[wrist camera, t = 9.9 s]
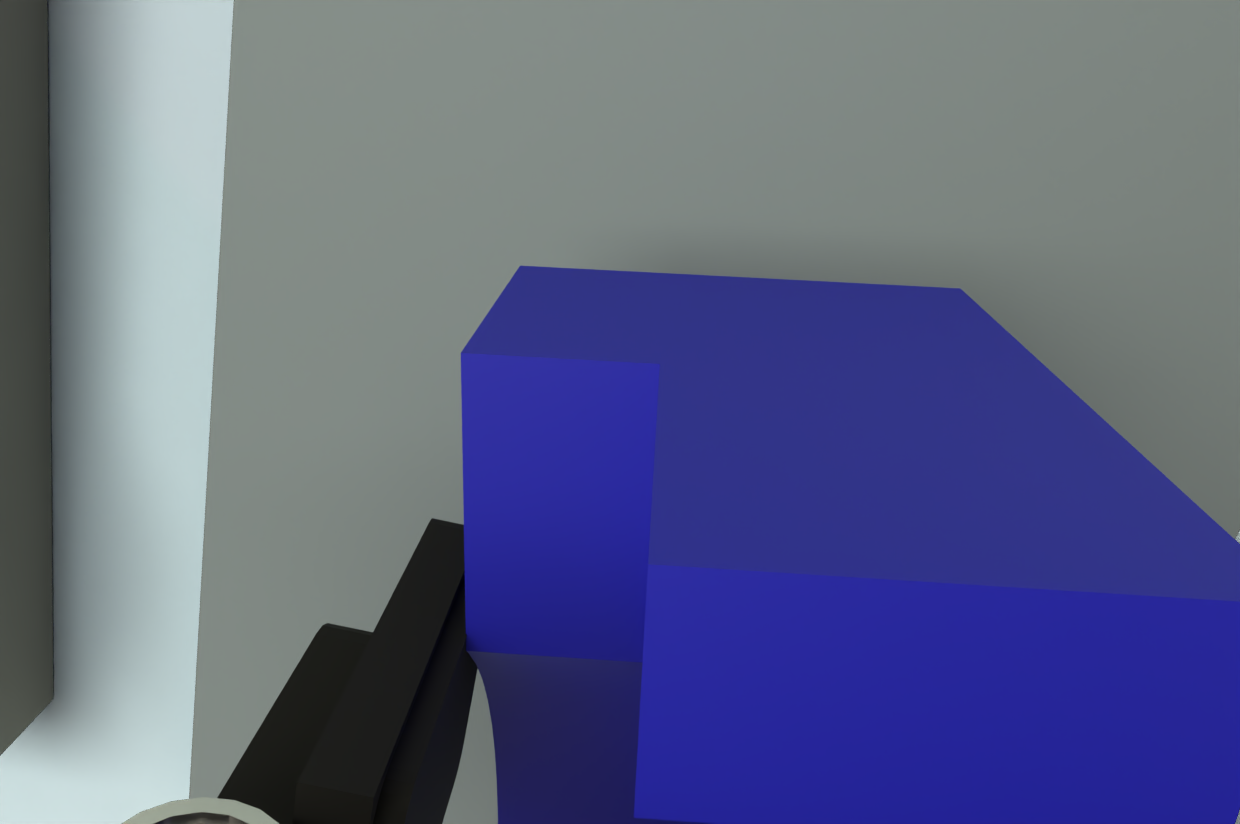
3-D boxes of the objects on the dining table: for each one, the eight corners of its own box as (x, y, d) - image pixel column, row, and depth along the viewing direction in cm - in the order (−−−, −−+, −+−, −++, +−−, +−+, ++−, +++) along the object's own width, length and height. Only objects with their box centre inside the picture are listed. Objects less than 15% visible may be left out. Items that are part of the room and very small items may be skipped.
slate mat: (1457, -30, 13) (1519, -35, 12) (980, 974, 19) (995, 1023, 18) (284, -294, 12) (251, -320, 11) (210, 816, 19) (185, 857, 18)
